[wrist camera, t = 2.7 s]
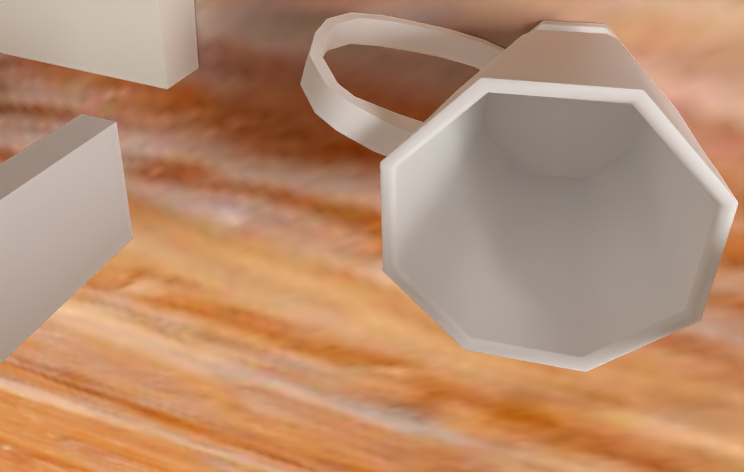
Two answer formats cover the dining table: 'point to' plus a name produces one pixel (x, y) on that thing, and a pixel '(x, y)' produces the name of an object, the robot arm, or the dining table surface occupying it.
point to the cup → (537, 191)
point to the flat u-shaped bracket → (105, 37)
